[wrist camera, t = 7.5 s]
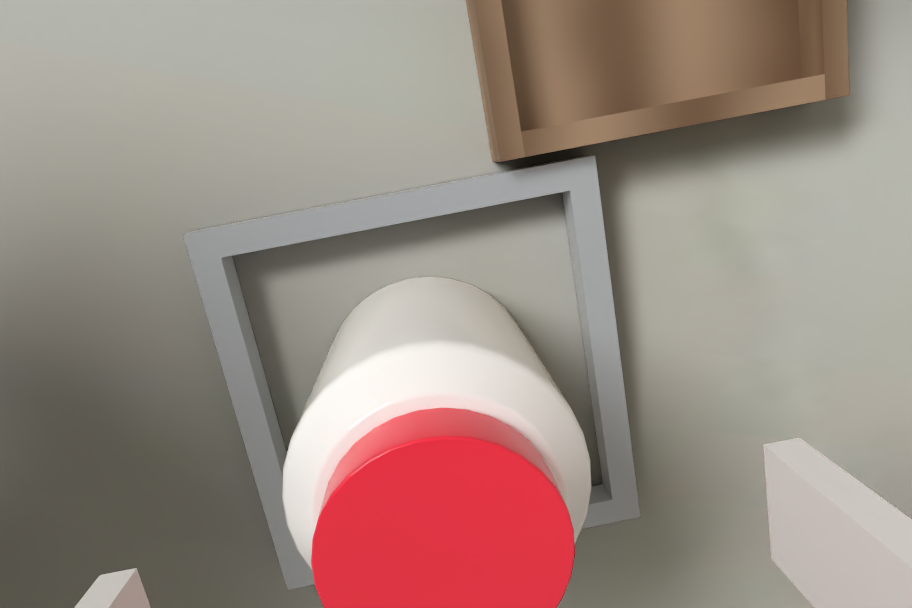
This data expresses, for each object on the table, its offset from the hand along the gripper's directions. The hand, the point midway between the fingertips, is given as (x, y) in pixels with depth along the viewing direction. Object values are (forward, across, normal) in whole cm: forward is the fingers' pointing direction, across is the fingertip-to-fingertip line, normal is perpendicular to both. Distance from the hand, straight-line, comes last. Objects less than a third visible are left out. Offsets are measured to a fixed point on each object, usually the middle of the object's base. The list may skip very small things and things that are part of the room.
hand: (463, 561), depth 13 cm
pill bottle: (+11, 0, 0) cm, 11 cm away
